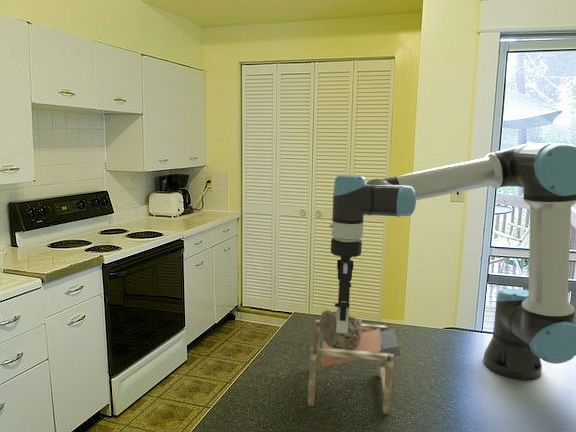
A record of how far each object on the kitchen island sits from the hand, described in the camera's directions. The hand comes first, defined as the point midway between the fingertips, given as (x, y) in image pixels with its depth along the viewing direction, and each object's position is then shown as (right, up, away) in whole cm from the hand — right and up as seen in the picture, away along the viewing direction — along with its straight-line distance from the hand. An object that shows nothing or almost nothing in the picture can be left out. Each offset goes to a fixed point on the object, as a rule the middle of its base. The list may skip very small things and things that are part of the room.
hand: (342, 321), depth 112 cm
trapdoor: (+5, -8, +1) cm, 10 cm away
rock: (+1, -7, +1) cm, 7 cm away
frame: (+2, -18, +3) cm, 19 cm away
